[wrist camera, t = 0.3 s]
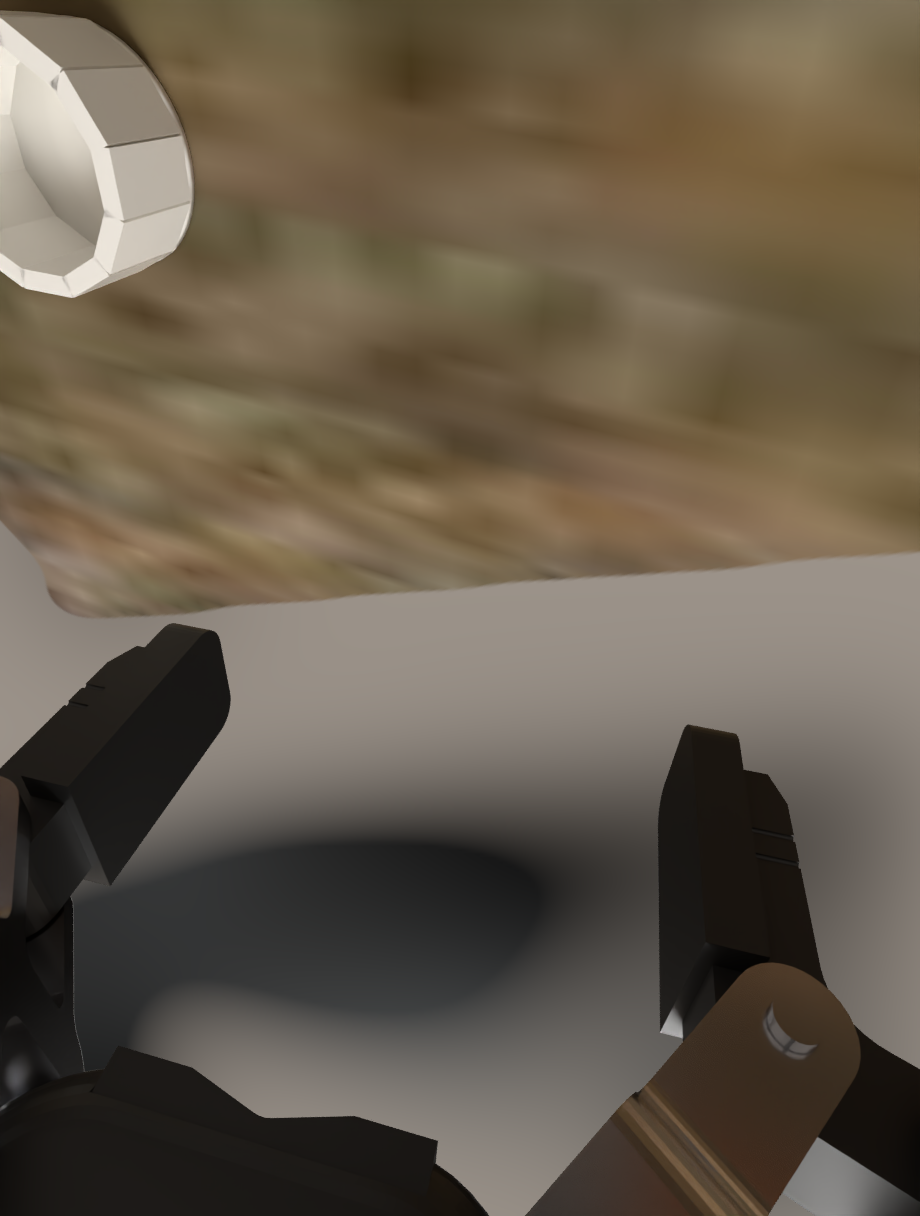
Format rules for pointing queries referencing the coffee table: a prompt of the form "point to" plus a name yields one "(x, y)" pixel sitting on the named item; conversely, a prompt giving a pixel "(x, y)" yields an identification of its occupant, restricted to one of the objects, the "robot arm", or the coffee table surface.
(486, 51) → the coffee table surface
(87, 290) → the bowl
